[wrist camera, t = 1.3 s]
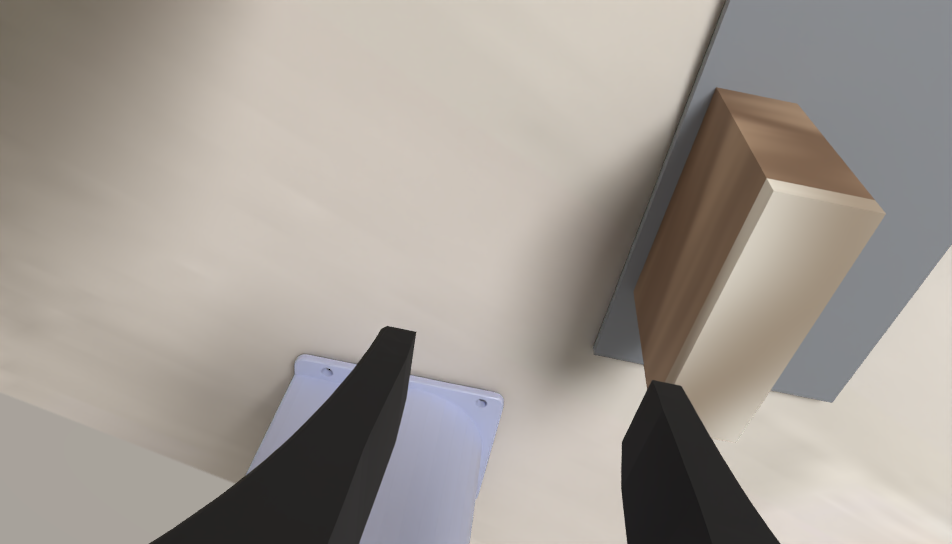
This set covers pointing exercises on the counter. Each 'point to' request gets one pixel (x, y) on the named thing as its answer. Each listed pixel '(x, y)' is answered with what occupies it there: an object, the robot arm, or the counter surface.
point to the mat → (854, 139)
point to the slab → (747, 256)
